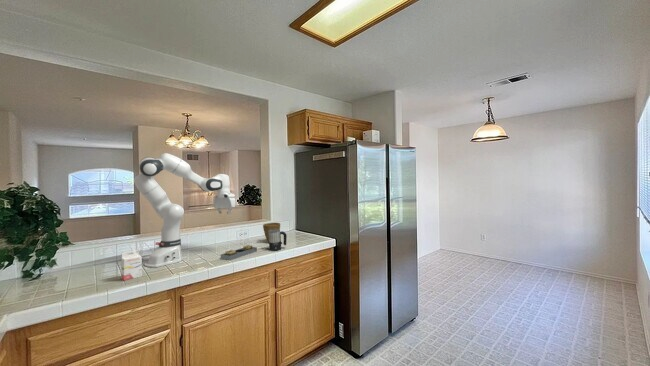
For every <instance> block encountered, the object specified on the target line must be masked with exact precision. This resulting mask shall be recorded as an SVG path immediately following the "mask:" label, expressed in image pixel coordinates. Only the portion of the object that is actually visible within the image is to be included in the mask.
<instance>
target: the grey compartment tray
mask: <svg viewBox="0 0 650 366" xmlns="http://www.w3.org/2000/svg"><path fill="white" fill-rule="evenodd" d="M234 251H236V254H233V255H226V253H225V252H224V253H222V254H220V260H225V261H233V260H235V259H240V258H242V257H245V256H247V255H251V254H254V253H256V252H258V247H255V246H252V249H249V250H245V249H243V247H241V248H238V249H234Z"/></svg>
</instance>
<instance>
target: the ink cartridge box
mask: <svg viewBox="0 0 650 366" xmlns="http://www.w3.org/2000/svg"><path fill="white" fill-rule="evenodd" d="M139 253H140V250H139V249H134V250H129V251H124V252H122V253H121V259H120V261H121V263H120V264H121V267H120V269H121V280H122V281H128V280H133V278H134V279H137V277H138V278H141V276H142V277H143V262H142V261H143V260H142V259H143V258H142V255H140V254H139Z"/></svg>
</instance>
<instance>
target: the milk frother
mask: <svg viewBox="0 0 650 366" xmlns="http://www.w3.org/2000/svg"><path fill="white" fill-rule="evenodd" d="M268 232H269V243H268V246H269V247H268V251H269V252H270V251H271V252H278V251H280V250H281V249H282V245H284V246H287V239H288V238H287V237H288V236H287V233H286V232H285V231H281V229H280V230H269V231H268ZM281 235H283V242H282V239H281Z"/></svg>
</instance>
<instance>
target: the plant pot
mask: <svg viewBox="0 0 650 366" xmlns="http://www.w3.org/2000/svg"><path fill="white" fill-rule="evenodd" d="M262 229H263V233H264V237H265V238H266V239H265V240H266V241H267V243H268V244H269V232H268V231H269V230H280V231H281V223H280V222H269V223H263V224H262Z"/></svg>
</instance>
